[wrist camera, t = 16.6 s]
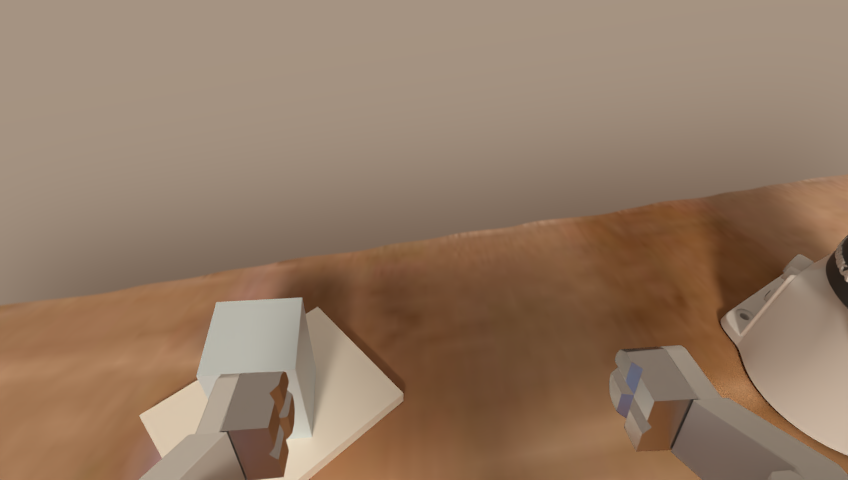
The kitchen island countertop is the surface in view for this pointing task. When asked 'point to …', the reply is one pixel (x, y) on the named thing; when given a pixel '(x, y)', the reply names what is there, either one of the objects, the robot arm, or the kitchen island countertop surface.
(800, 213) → the kitchen island countertop surface
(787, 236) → the kitchen island countertop surface
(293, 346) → the tall grey rectangular prism
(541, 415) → the kitchen island countertop surface
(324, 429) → the post board
